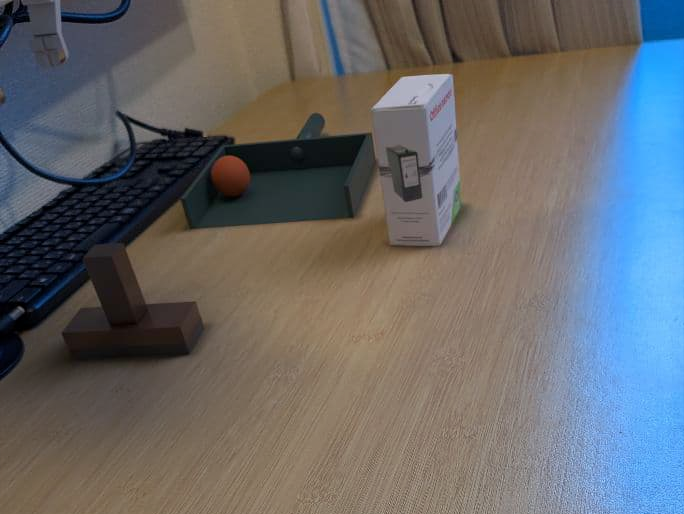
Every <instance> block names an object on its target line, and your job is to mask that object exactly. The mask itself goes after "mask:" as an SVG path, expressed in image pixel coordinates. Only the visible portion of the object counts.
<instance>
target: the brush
mask: <svg viewBox="0 0 684 514" xmlns="http://www.w3.org/2000/svg"><path fill="white" fill-rule="evenodd" d="M82 262H83V264H84V266H85V268H86V271H87V274H88V277H89V279H90V282H91V283H92V286H93V289H94V291H95V293H96V296H97V299H98V300H99V304H100V306H90V307H89V306H88V307H80V309H79V310H78V311H77V312H76V313H75V314H74V316H73V317H72V318H71V320H70V321H69V323H67V325H66V326H65V327H64V328H63V330H62V331H61V332H60V334H61V336H62V339H63V341H64V343H65V345H66V347H67V350H68V351H69V354H70V355H71V358H72V360H93V359H95V360H96V359H115V358H117V359H118V358H138V357H139V358H141V357H142V358H143V357H160V356H161V357H162V356H165V357H166V356H187V355H190V354H191V353H192V351H193V349H194V348H195V346H196V345H197V342H198V341H199V339H200V337H201V336H202V334H203V332H204V330H205V325H204V323H203V320H202V316H201V313H200V310H199V307H198V304H197V301H196V300H193V301H178V302H177V301H176V302H160V303H146V301H145V298H144V295H143V292H142V290H141V287H140V284H139V282H138V279H137V276H136V274H135V271H134V268H133V265H132V263H131V260H130V257H129V254H128V252H127V249H126V246H125V244H124V242H114V243H113V242H112V243H111V242H110V243H100V244H97V243H96V244H94V245H92V247H91V248H90V249H89V250H88V251H87V252H86V254H85V255H84V256H83V257H82Z"/></svg>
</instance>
